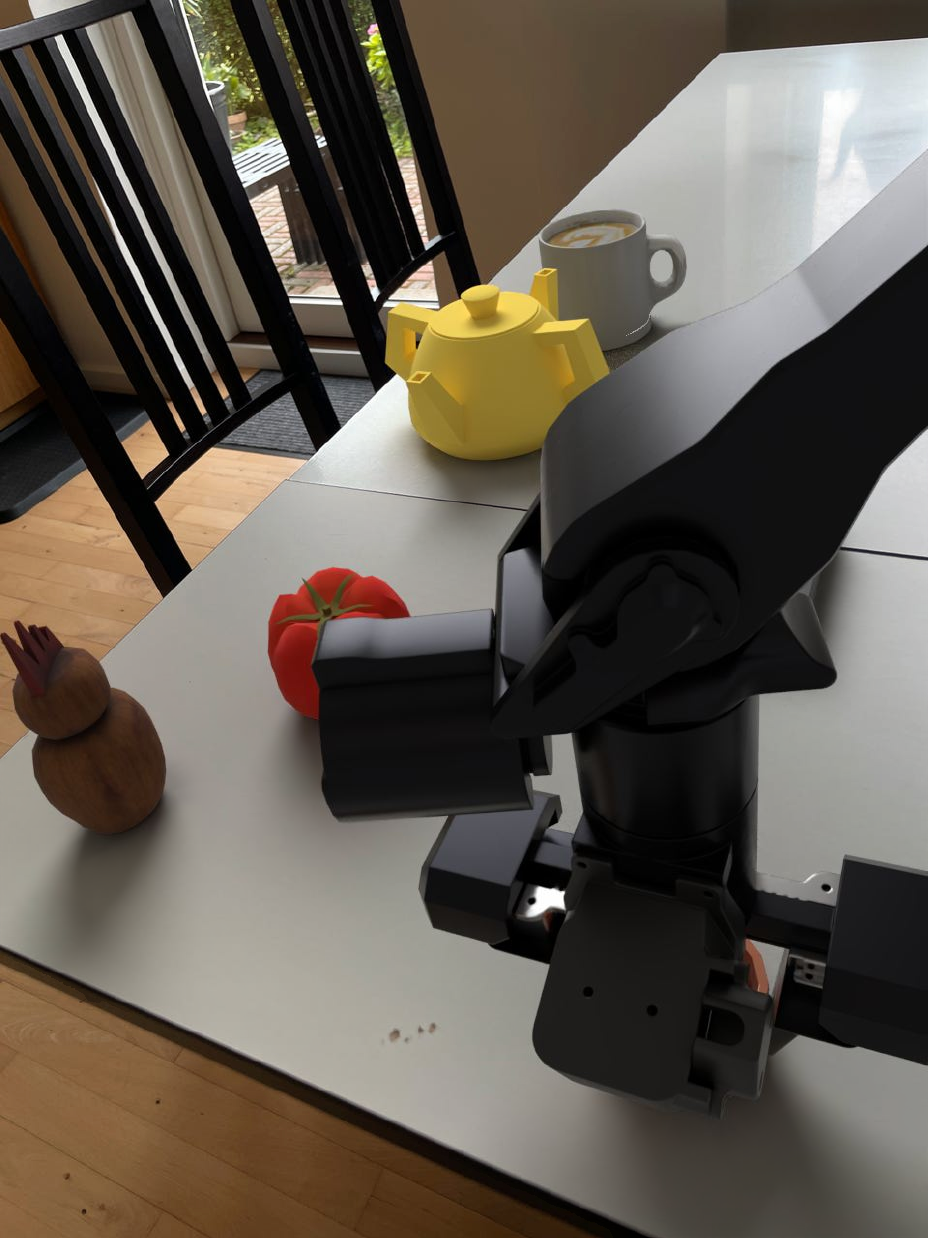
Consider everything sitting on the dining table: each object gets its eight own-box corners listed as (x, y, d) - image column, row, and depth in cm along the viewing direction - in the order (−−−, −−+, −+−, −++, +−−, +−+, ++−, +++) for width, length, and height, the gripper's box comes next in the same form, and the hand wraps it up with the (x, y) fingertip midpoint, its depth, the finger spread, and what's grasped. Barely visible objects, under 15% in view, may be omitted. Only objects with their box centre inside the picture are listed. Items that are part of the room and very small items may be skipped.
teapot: (623, 442, 81) (611, 300, 74) (426, 494, 80) (394, 356, 73) (564, 363, 95) (549, 236, 87) (394, 407, 94) (364, 282, 86)
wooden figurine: (136, 860, 56) (15, 661, 46) (55, 843, 58) (-77, 649, 48) (198, 769, 60) (99, 572, 51) (121, 757, 62) (13, 566, 53)
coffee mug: (542, 354, 97) (529, 252, 90) (559, 311, 104) (548, 214, 98) (683, 346, 93) (679, 239, 87) (691, 302, 100) (687, 200, 94)
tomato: (348, 629, 69) (319, 540, 64) (451, 665, 64) (428, 571, 59) (254, 717, 63) (215, 627, 59) (359, 763, 58) (326, 669, 54)
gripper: (299, 905, 31) (405, 1133, 40) (978, 1100, 23) (908, 1323, 33) (444, 664, 38) (504, 905, 48) (993, 751, 30) (932, 1016, 40)
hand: (683, 1019), depth 42 cm, fingers closed on bowl, 7 cm apart
